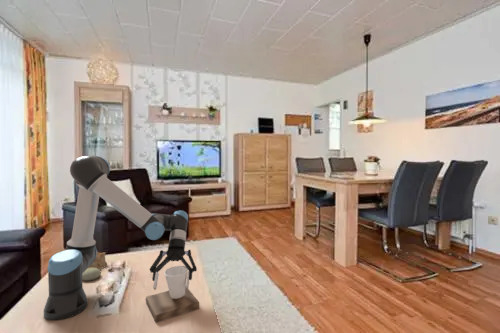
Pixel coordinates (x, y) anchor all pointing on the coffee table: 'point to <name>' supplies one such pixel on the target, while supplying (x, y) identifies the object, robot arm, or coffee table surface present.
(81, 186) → the robot arm
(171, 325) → the coffee table surface
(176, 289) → the cup
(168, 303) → the wooden block
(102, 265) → the statue
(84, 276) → the sea urchin shell
